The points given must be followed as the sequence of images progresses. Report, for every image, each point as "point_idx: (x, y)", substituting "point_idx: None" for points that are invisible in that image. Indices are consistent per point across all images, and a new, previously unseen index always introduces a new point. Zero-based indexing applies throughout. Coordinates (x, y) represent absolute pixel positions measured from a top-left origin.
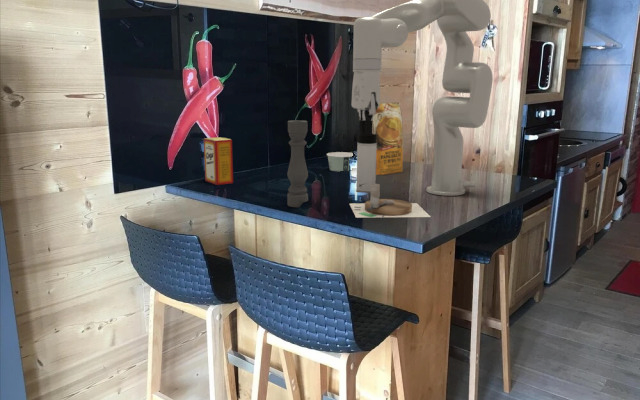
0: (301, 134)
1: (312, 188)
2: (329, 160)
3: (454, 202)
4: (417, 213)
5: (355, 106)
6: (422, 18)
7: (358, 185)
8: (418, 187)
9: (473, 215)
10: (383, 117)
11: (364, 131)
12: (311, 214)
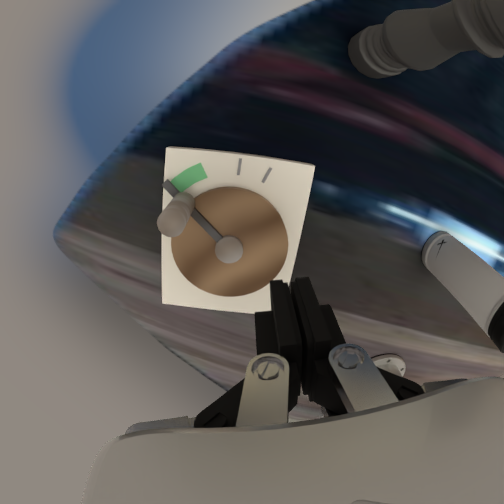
0: (486, 10)
1: (495, 153)
2: None
3: None
4: (190, 290)
5: (383, 423)
6: None
7: (446, 239)
8: (423, 347)
9: (210, 369)
10: None
11: (269, 311)
12: (269, 57)
